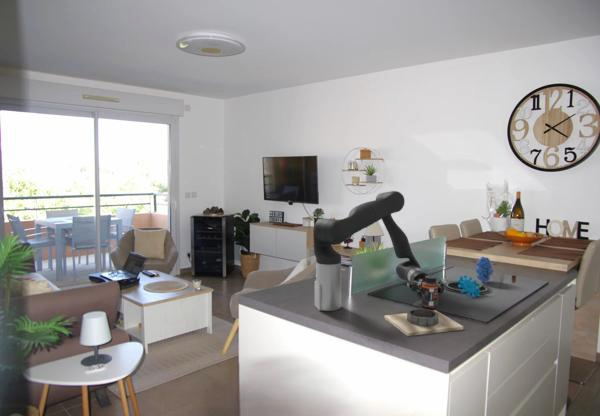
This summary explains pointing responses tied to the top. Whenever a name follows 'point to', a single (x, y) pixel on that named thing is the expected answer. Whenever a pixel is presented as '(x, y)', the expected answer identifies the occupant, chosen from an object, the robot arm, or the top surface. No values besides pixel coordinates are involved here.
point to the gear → (469, 286)
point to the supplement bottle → (430, 292)
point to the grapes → (484, 269)
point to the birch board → (411, 329)
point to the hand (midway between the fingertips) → (432, 291)
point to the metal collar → (414, 319)
